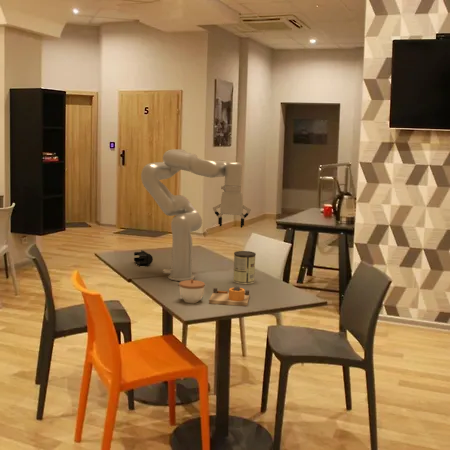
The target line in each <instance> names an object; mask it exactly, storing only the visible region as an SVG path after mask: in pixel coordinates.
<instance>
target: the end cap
mask: <svg viewBox="0 0 450 450" xmlns="http://www.w3.org/2000/svg"><path fill="white" fill-rule="evenodd" d="M133 254H134V256H138V257H134V258H133V262H134V263H136V264H137V265H136V264H135V265H136V266H138V265H139V266H145V267H149V266H151V264H153V261H154V257H153V256H152V254H150V253H149V252H146V251H145V250H142V249H141V250H140V251H135V252H133ZM139 266H138V267H139Z"/></svg>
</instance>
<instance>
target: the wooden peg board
mask: <svg viewBox="0 0 450 450" xmlns="http://www.w3.org/2000/svg"><path fill="white" fill-rule="evenodd" d="M233 288H234V291H240V288H241V287H240V286H233ZM250 296H251V294H250V290H249V289H246V290H245V295H244V300H241V301H233V300H230V299H229V290H227V291H226V290H218V287H217V288H216V287H214V288H213V292H212V294H211V296H210V297H209V299H208V302H209V303H208V304H212V305H223V306H224V305H225V306H238V307H239V306H242V307H248V305H249V301H250V298H251V297H250Z"/></svg>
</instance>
